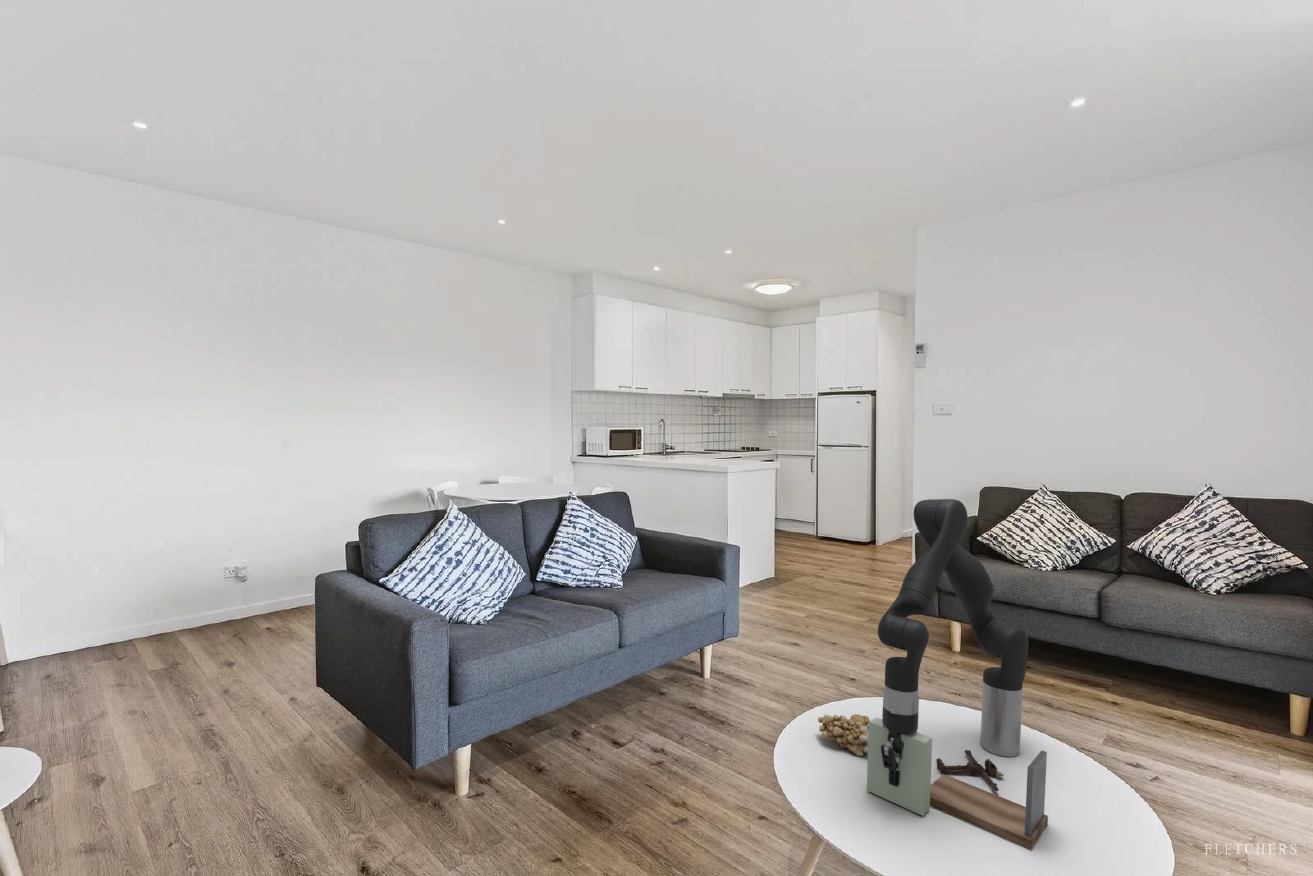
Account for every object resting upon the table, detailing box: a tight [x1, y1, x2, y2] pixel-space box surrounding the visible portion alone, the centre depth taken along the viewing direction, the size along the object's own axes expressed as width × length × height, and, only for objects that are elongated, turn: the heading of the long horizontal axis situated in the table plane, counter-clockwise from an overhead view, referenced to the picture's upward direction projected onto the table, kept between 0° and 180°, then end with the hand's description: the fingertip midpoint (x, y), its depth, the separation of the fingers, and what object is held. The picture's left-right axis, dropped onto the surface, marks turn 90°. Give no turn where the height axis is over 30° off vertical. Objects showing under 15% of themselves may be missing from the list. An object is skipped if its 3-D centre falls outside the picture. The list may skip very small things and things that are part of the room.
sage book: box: [866, 717, 933, 817], centre depth 144 cm, size 4×13×16 cm, turn 45°
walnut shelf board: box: [930, 774, 1049, 851], centre depth 141 cm, size 12×22×2 cm, turn 45°
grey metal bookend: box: [1025, 750, 1048, 837], centre depth 134 cm, size 10×1×14 cm, turn 135°
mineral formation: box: [817, 713, 871, 757], centre depth 170 cm, size 8×13×15 cm
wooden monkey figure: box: [936, 749, 1004, 792], centre depth 157 cm, size 18×4×14 cm
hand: (897, 781), depth 144 cm, fingers closed on sage book, 3 cm apart
